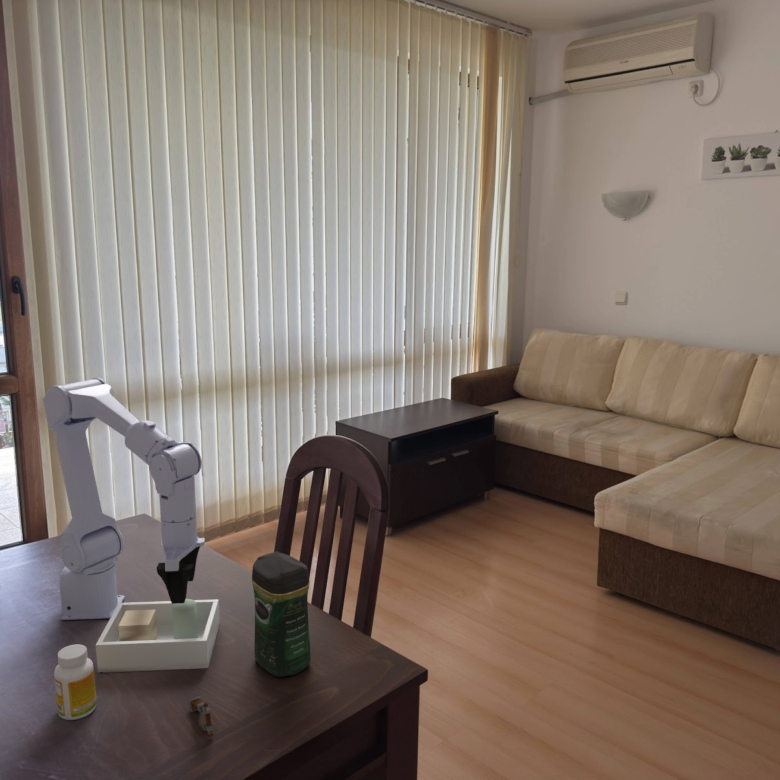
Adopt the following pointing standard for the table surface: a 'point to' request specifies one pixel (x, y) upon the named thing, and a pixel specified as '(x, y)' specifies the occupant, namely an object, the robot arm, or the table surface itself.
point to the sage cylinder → (185, 620)
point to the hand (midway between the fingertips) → (182, 591)
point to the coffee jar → (281, 614)
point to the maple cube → (138, 625)
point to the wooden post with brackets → (206, 709)
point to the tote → (158, 641)
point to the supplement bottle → (74, 683)
